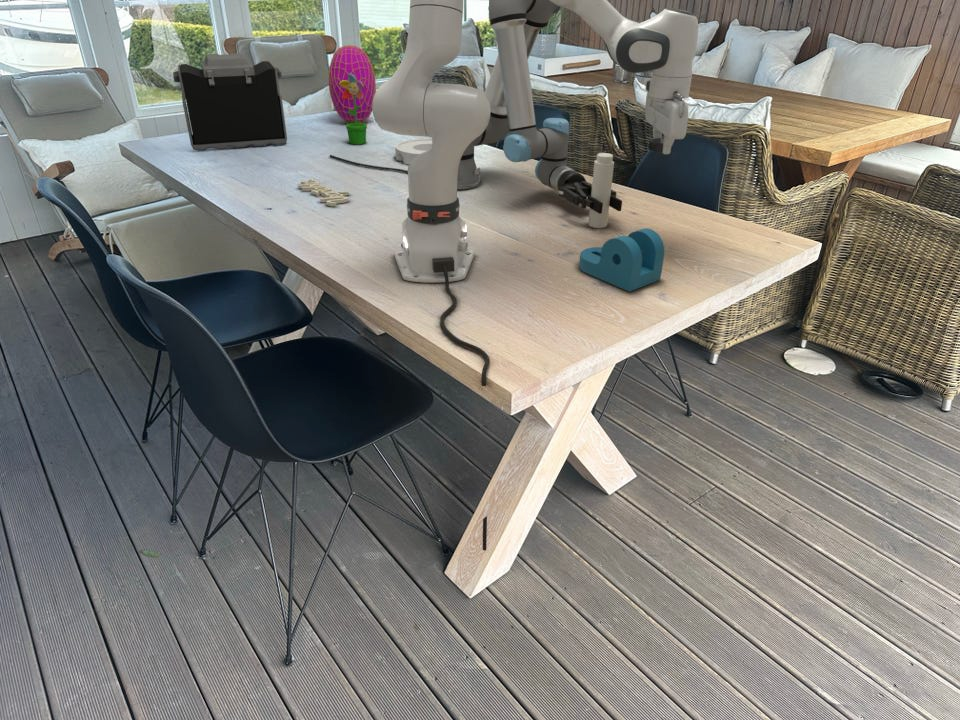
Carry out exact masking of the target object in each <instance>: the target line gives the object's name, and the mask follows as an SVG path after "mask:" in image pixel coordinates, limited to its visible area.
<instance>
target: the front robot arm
mask: <svg viewBox="0 0 960 720" xmlns="http://www.w3.org/2000/svg"><path fill="white" fill-rule="evenodd" d="M550 1H551V2H553V3H554V4H556V5H558V6H561V7H563V8H564V9H567V10H569V11H572V12H573V13H574V14H576V15H578V16H579V17H580V18H581V19H582V20H583V21H584V22H585V23H586V24H587V25H588V26H589V27H590V28H591V29H592V30H593V31H594V32H595V33H596V34H597V35H598V36H599V37H600V38H601V39H602V42H603V43H604V45H605V48H606V52H607V54H608V56H609V58H610V59H611V61H612V62H613V63H614V64H615V65H616V66H618V67H620V69H622V70H623V71H625V72H627V73H630V74H640V73H645V72H651V71H652V72H651V77H650V79H648V80H646V81H645V91H646V95H645V107H644V108H645V109H644V110H645V111H644V116H645V122H647V123H648V124H649V125H651V127H652V139H654V138H662V137H663V138H664V139H665V140H664V144H663V145H662V149H661V152H660V153H662V154H663V155H671V152H672V151H671V146H672V144H673V145H674V142H675V140H683V139H685V137H686V135H687V131H688V122H689V121H688V120H689V105H688V103H686V101H685V100H686V99H689V97H690V91H691V84H692V78H693V61H694V59H695V57H696V53H697V46H698V39H699V38H698V37H699V21H698V20H699V19H698V17H697V16H696V15H695V14H694V13H693V12H691V11H688V10H685V9H679V8H675V7H666V8H664V9H663V10H662V11H661V12H659V13H658V14H656V15H654V16H653V17H650V18H649V19H647V20H645V21H642V22H640V21H638V20H635V19H633V18H629V17H626V16H624V15H622V13H620V12H619V11H618V10H617V9H616V8H615V7H614V6H613V5H612V4H611V3H610V2H609V0H550ZM463 16H464V0H409V17H408V31H407V40H406V46H405V51H404V54H403V57H402V59H401V62H400V63H399V66H398V67H397V69H396V70H395V72H394V73H393V74H392V75H391V77H390V78H388V79H387V80H386V81H385V82H384V83H382V84H381V85H380V86H379V87H378V88H377V89H376V93H375V95H374V98H373V102H372V115H373V118H374V121H375V123H376V124H377V126H378V127H379V129H381V130H383V131H386V132H388V133H392V134H396V135H400V136H408V137H410V136H411V137H423V138H424V137H426V138H430V139H432V148H431V149H430V150H428V151H426V152H423V153H421V154H419V155H418V156H416V157H415V158H413V159H412V161H411V162H410V164H409V165H408V168H407V171H408V173H407V184H408V186H407V187H408V198H407V199H406V211H407V213H406V214H407V217H406V218H405V219H404V220H403V221H402V223H401V231H402V242H401V244H400V247H401V249H400V250H397V251H395V252H394V259H395V262H396V264H397V267H398V269H399V272H400V274H401V277H402V279H403V280H405V281H408V282H414V283H431V284H433V283H435V284H437V283H444V286H445V291H446V293H447V295H448V296H449V297H450V298H451V300H452V304H451V305H450V306H449V307H448V308H447V309H446V310H445V311H443V312H442V314H441V315H440V317H439V318H440V319H439V324H440V328H441V329H442V331H443V332H444V333H445V334H446V335H447V336H448V337H449V338H450V339H451V340H452V341H454V342H455V343H457V344H459V345H461V346H463V347H465V348H468V349H470V350H473V351H476V352H477V353H479V354H480V355H481V356H482V357H483V359H484V360H485V361H484V364H483V367H482V369H481V386H482V387H487V372H488V369H489V367H490V362H491V361H490V360H491V359H490V357H489V355H488V354H487V352H486V351H485V350H483V349H482V348H481V347H479V346H476V345H475V344H472V343H469V342H466V341H464V340H461V339H460V338H458V337H456V336H455V335H454V334H453V333H452V332H451V331H449V329H448V328H447V326H446V324H445V318H446V317H447V315H448V314H450V312H452V311H453V310H454V309H455V308H456V306H457V305H458V299H457V297H456V296H455V295H454V294H453V293H452V291H451V289H450V283H451V282H457V281H461V280H464V279H466V277H467V274H468V273H469V269H470V267H471V265H472V262H473V260H474V257H475V251H473V250H471V249H468V245H469V243H468V242H467V241H466V238H467V236H468V232H467V225H466V221H465V220H464V219H463V218H461V216H460V208H461V207H460V206H461V205H460V198H459V197H458V190H457V179H458V168H459V163H460V160H461V157H462V155H463V153H464V151H465V149H466V148H467V147H468V145H469V144H470V143H471V142H472V141H473V140H474V139H476V138H477V137H479V136H480V135H481V134H482V133H483V132H484V131H485V129H486V127H487V126H488V123H489V120H490V105H489V101H488V99H487V97H486V95H485V94H484V91H483V90H482V89H480V88H476V87H473V86H469V85H466V84H461V83H460V84H459V83H442V82H441V83H439V82H433V80H434V79H433V78H434V76H435V74H436V73H437V72H438V71H439V70H440V69H441V68H443V67H446V66H447V65H449V64H451V63H453V62H454V61H455V60H456V59H457V57H458V55H459V54H460V52H461V48H462V45H461V44H462V33H463ZM487 534H488V515H486V516H485V517H484V518H482V551H484V552H485V551H487V538H488V537H487V536H488V535H487Z"/></svg>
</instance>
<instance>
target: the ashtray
mask: <svg viewBox="0 0 960 720" xmlns="http://www.w3.org/2000/svg"><path fill="white" fill-rule="evenodd" d="M431 148H432V138H416V139H415V138H414V139H408V140H404V141H399V142H398V143H396V144H395V146H394V150H395V151H394V152H395V153H394V154H395V160H396V161H397V162H403V164H404V165H408V166H409V164H410V162H411V161H412V159H413V158H415V157H416V156H418V155H419V154H421V153H423V152H426V151H428V150H430V149H431Z"/></svg>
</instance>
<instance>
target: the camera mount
mask: <svg viewBox="0 0 960 720" xmlns="http://www.w3.org/2000/svg"><path fill="white" fill-rule="evenodd" d="M664 258H665V245H664V241H663V239H662V238H661V236H660V234H659V233H658V232H657V231H655V230H654V229H651V228H641V229H638V230H635V231H632V232H630V233H629V234H628V235H620V236H617V237H612V238H610V239H608V240H606V241H605V242H604V244H603V245H602V246H593V247H588V248H584V249H583V250H581V251H580V253H579V264H578V268H579V270H581V271H582V272H583V273H584V274H588V275H589V276H591V277H594V278H597V279H599V280H601V281H603V282H606V283H608V284H611V285H612V286H615V287H617V288H619V289H622V290H624V291H627V292H632V291H635V290H638V289H640V288H642V287H645V286H648V285H651V284H653V283H655V282H659V281H660V280H661V278H662V271H663V266H664Z"/></svg>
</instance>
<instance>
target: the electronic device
mask: <svg viewBox="0 0 960 720" xmlns="http://www.w3.org/2000/svg"><path fill="white" fill-rule="evenodd" d="M200 65H201V68H199V67H196V66H193V65H190V64H189V63H188V64H187V63H181V64H180V63H179V64H178V65H177V71H173V72H172V78H173V82H174V83H179V84H180V90H181V101H182V108H183V112H184V117H185V122H186V127H187V132H188V138H189V142H190V146H191V148H192V150H193V151H198V152H203V151H206V150H208V149H215V150H226V149H227V148H232V147H233V148H235V149H244V148H246V147H248V146H256V147H265V146H266V145H275V146H282V145H285V144H286V143H287V141H288V134H287V126H286V119H285V110H284V104H283V97H282V95H281V91H280V84H279V83H280V82H279V79H280V78H283V75H282V71H281V70H280V68H278V67H275V66H274V65H273V64H272V63H271V62H270V61H269V60H262V61H260V62H258V63H256V64H254V65H253V64H252V63H251V61H250V60H249V59H248V58H247V59H246V57H245V56H244V54H243V53H242V52H233V53H229V54H219V53H206V54H205V59H204V60H201V61H200Z"/></svg>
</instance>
